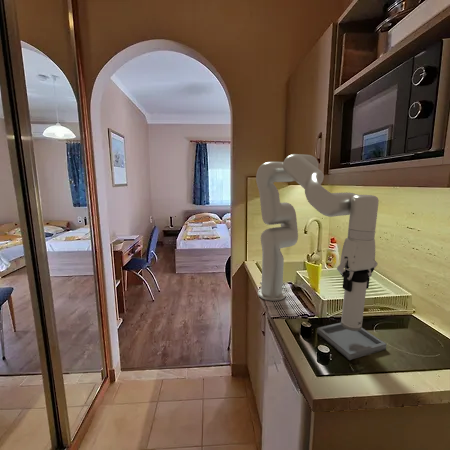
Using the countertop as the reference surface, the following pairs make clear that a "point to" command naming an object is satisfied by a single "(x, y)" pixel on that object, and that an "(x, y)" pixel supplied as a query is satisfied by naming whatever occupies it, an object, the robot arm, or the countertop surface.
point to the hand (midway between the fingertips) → (355, 288)
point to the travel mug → (355, 301)
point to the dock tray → (351, 341)
